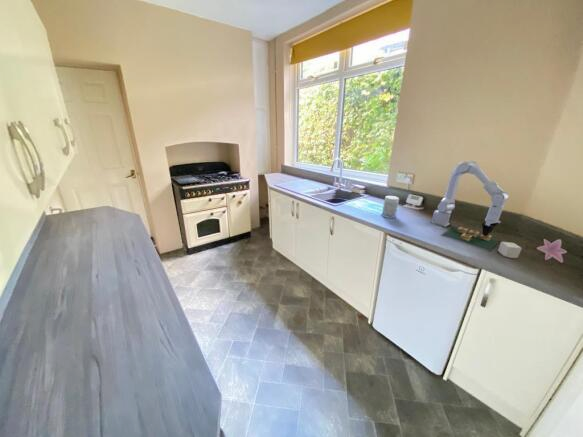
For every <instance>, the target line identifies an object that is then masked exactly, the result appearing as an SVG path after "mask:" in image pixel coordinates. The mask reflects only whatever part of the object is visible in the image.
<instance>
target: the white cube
mask: <svg viewBox="0 0 583 437" xmlns="http://www.w3.org/2000/svg"><path fill="white" fill-rule="evenodd" d="M522 249H523V248H522V247H521V246H519V245H518V244H516V243H515V242H509V241H501V242H500V244H499V246H498V249H497V252H499V254H500V255H502V256H503V257H506V258H511V259H518V258H519V256H520V253H521V251H522Z"/></svg>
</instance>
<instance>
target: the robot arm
mask: <svg viewBox="0 0 583 437" xmlns="http://www.w3.org/2000/svg"><path fill="white" fill-rule="evenodd" d="M465 174H470V175H474V176H475V177H476V178H477V179H478V180H479V181H480V182H481V183H482V184H483V189H484V190H485V191H486V192H487V194H488V195H489V196H490V200H491V202H490V206H489V208H488V211H487V214H486V217H485V218H484V221H485V222H482V223H481V227H482V233H481V234H482V235H484V236H487V235H490V234H491V233H492V231H493V230H494V228H496V226H497V225H498V224H501V222H502V221H501V220H500V217H501V215H502V212H503V209H504V206H505V204H506V202H507V201H508V200H509V199H510V195H509V193H508V192H507V191H505V190H504V189H502V188H501V187H500V186H499V185H498V184H499V183H498V182H496V181H495V180H491V179H490V178H488V176H487V174H486V173H485V172H484V171H483V169H482V168H481V166H480V164H478V163H477V162H476V161H474V160H470V161H461V162H459V163H457V165H456V167H454V168H453V170H452V171H451V172H450V176H449V179H448V183H447V187H446V190H445V193H444V197H443V198H442V199H441V200H440V202H439V204H438V205H437V209H435V210H434V211H433V214H432V218H431V223H432V224H435V225H438V226H442V227H445V228H446V227H447V226H450V224H451V223H449V221H450V217H451V214H452V211H454V210H455V207H456V205H455V202H456V200H455V196H456V193H457V190H458V186H459V183H460V180H461V176H462V175H465Z"/></svg>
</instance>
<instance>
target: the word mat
mask: <svg viewBox="0 0 583 437" xmlns="http://www.w3.org/2000/svg"><path fill="white" fill-rule="evenodd" d="M457 230H458V228H457V227H452V228H450V229H449V230H448V231H446V232H444V233H443V234H442V236H444V237H447V238H450V239H453V240H456V241H458V242H462V243H465V244H467V245H471V246H474V247H477V248H480V249H483V250H486V251H491V250H492V249H493V248H494V247H495V246H496V245H497V243H499V240H498V239H495V238H491V239H490V240H489V241H486V240H483V239H480V236H481V234H479V236H477V237H473V236H472V239H471V240H470V241H466V240H463V239H460V238H461V235H462V234H463V233H460V232H457ZM468 233H469V231H468V232H467V233H466V234H468Z"/></svg>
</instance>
